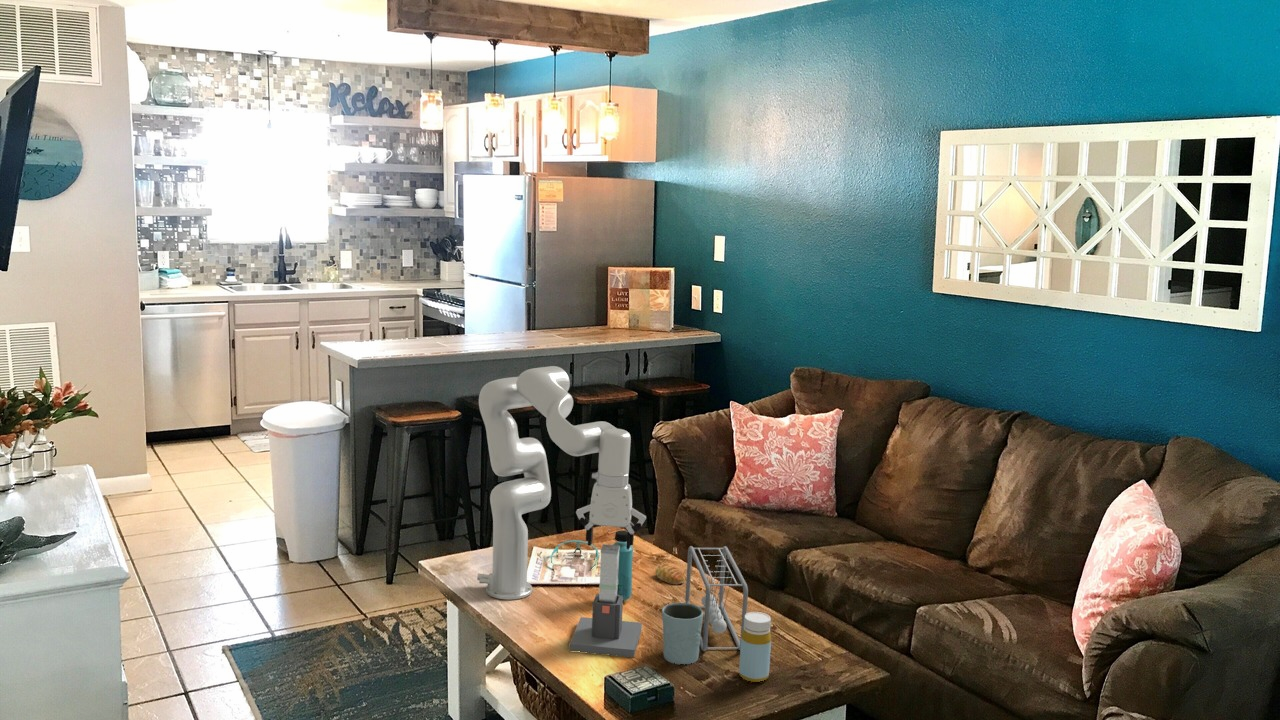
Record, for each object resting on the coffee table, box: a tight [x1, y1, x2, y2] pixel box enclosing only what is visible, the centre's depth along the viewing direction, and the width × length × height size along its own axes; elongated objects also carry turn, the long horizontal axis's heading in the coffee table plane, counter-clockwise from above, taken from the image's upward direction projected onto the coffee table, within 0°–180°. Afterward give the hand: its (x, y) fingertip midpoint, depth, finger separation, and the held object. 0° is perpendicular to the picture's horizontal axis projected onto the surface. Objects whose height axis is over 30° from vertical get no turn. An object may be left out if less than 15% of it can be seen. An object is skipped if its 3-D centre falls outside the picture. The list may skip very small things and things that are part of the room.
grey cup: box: [661, 602, 704, 666], centre depth 256 cm, size 10×10×12 cm
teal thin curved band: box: [550, 539, 600, 569], centre depth 315 cm, size 14×15×5 cm
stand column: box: [598, 544, 620, 604], centre depth 261 cm, size 4×4×15 cm
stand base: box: [569, 593, 643, 658], centre depth 263 cm, size 16×16×11 cm
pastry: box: [655, 562, 686, 585], centre depth 306 cm, size 9×7×4 cm
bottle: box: [738, 611, 772, 683], centre depth 247 cm, size 7×7×15 cm
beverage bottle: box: [612, 529, 634, 601], centre depth 287 cm, size 6×7×20 cm
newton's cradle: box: [684, 545, 749, 652], centre depth 273 cm, size 30×10×18 cm, turn 6°
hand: (609, 545), depth 260 cm, fingers open, 9 cm apart
